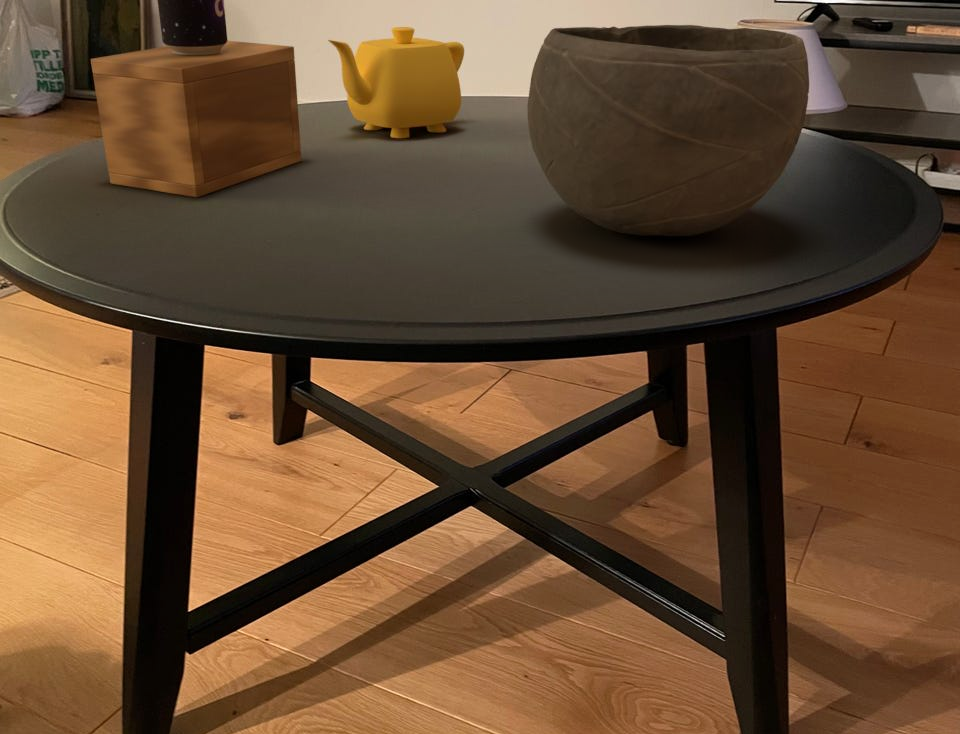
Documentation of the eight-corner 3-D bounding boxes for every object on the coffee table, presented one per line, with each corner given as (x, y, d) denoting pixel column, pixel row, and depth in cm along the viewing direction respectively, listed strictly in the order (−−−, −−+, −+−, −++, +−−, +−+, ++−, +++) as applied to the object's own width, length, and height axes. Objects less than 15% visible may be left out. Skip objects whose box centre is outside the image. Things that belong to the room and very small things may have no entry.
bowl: (835, 232, 84) (872, 35, 77) (670, 287, 71) (696, 58, 64) (638, 182, 97) (654, 10, 90) (472, 221, 85) (474, 25, 78)
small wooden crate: (110, 183, 94) (90, 58, 88) (221, 149, 106) (209, 38, 101) (197, 197, 90) (181, 68, 85) (301, 161, 103) (294, 46, 97)
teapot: (361, 149, 108) (357, 39, 102) (306, 131, 115) (299, 28, 110) (492, 128, 118) (494, 27, 112) (433, 113, 125) (432, 18, 120)
